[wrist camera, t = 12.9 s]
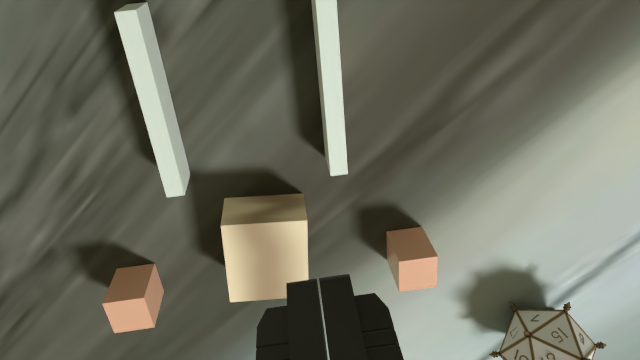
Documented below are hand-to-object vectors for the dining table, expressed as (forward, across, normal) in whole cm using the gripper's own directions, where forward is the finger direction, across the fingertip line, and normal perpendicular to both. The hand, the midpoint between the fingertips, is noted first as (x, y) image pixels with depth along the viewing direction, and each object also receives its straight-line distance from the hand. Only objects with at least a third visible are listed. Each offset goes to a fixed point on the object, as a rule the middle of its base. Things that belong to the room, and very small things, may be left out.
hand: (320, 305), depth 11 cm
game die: (+23, -19, +28) cm, 41 cm away
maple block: (+23, +4, +14) cm, 27 cm away
